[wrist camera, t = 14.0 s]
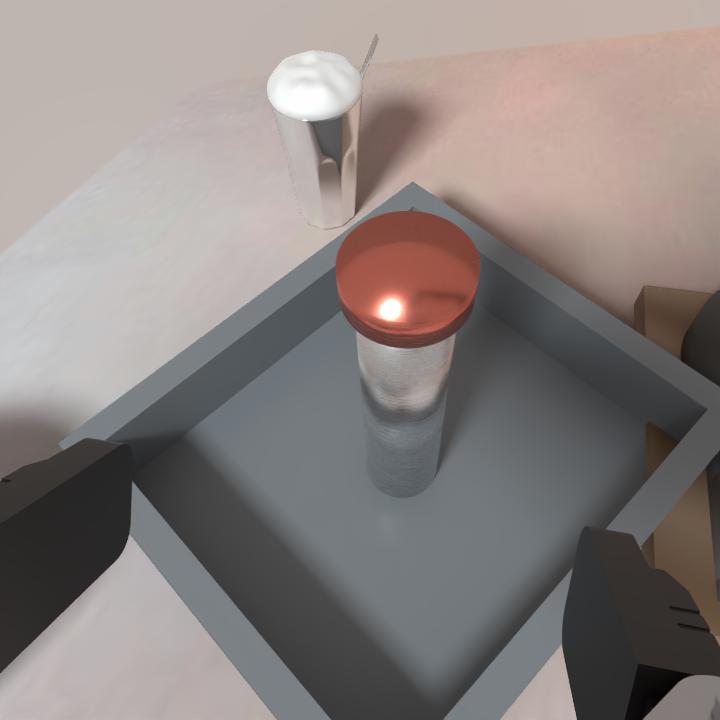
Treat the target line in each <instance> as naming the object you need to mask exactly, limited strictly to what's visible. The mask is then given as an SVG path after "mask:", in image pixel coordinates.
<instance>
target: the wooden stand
mask: <svg viewBox="0 0 720 720" xmlns="http://www.w3.org/2000/svg"><path fill="white" fill-rule="evenodd" d="M634 309H635V331H637V332H638V333H640V334H641V335H643V336H644V337H646V338H647V339H649V340H650V341H652V342H653V343H655V344H656V345H658V346H659V347H661V348H662V349H664V350H665V351H667V352H668V353H670V354H671V355H673V356H674V357H676V358H677V359H679V360H680V361H682V362H683V363H685V364H686V365H688V366H689V367H691V368H692V369H694V370H695V371H697V372H698V373H700V374H701V375H703V376H704V377H706V378H707V379H709V380H710V381H712V382H713V383H715V384H716V385H717V386H719V387H720V290H719V291H717V292H716V293H715V294H708V293H700V292H692V291H684V290H675V289H667V288H659V287H651V286H643V288H642V290H641V292H640V294H639V296H638V298H637V300H636V302H635V304H634ZM645 428H646V455H647V480H648V479H649V478H650V476H651V475H652V474H653V473H654V472H655V470H656V469H657V468H658V467H659V466H660V465H661V463H662V462H663V461H664V460H665V459H666V458H667V456H668V455H669V454H670V453H671V452H672V451H673V449H674V448H675V447H676V446H677V445H678V444H679V442H678V441H676V440H675V439H674V438H672V437H671V436H669V435H668V434H667V433H665V432H664V431H663V430H661V429H660V428H658V427H657V426H656V425H654V424H653V423H652V422H650V421H649V422H648V423H647V425H646V426H645ZM641 547H642V553H643V555H644V557H645V559H646V561H647V563H648V566H649V567H650V568H656V569H661V570H665V571H666V572H667V573H668V574H670V575H671V576H672V577H673V578H674V579H675V580H677V581H678V582H679V583H680V584H681V585H682V586H684V587H685V588H686V589H687V590H688V591H689V593H690V594H691V596H692V598H693V600H694V601H695V603H696V605H697V607H698V608H699V610H700V615H701V616H703V617H704V619H705V621H706V622H707V624H708V626H709V628H710V633H711V634H713V635H714V636H715V638H716V640H717V642H718V643H719V645H720V450H719V451H718V453H717V454H716V455H715V456H714V458H713V459H712V460H711V461H710V462H709V464H708V465H707V466H706V467H705V469H704V470H703V471H702V472H701V474H700V475H699V476H698V477H697V478H696V480H695V481H694V482H693V483H692V485H691V486H690V487H689V488H688V489H687V491H686V492H685V493H684V494H683V496H682V497H681V498H680V499H679V500H678V502H677V503H676V504H675V505H674V507H673V508H672V509H671V510H670V512H669V513H668V514H667V515H666V516H665V518H664V519H663V520H662V521H661V523H660V524H659V525H658V526H657V527H656V529H655V530H654V531H653V532H652V534H651V535H650V536H649V537H648V538H647V540H646V541H645V542H644V543H643V545H642V546H641Z"/></svg>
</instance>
